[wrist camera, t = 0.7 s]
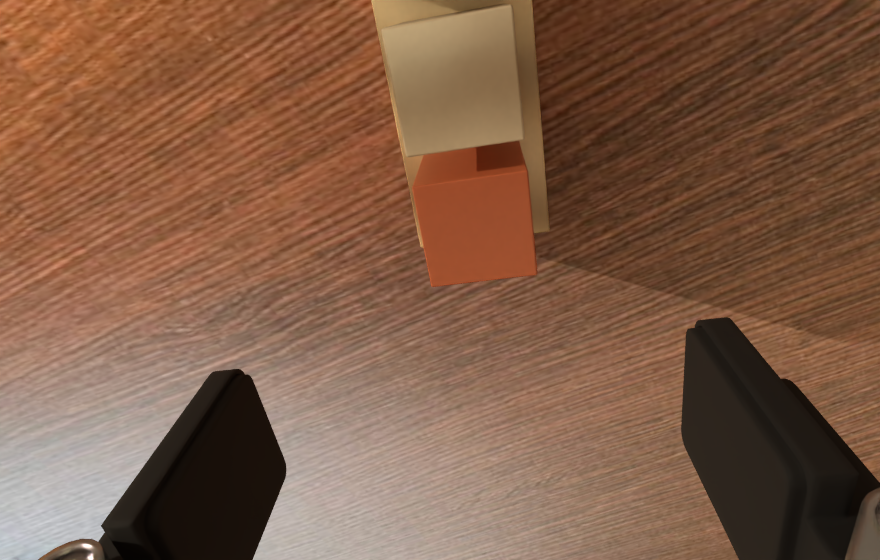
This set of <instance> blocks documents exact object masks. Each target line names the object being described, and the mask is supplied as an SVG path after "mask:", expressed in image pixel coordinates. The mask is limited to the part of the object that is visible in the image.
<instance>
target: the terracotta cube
mask: <svg viewBox="0 0 880 560" xmlns="http://www.w3.org/2000/svg"><path fill="white" fill-rule="evenodd" d="M412 191H413V196H414V201H415V206H416V211H417V216H418V221H419V226H420V231H421V236H422V241H423V246H424V251H425V256H426V262H427V267H428V272H429V277H430V282H431V286H432V287H436V286H445V285H453V284H462V283H470V282H479V281H488V280H496V279H505V278H513V277H522V276H530V275H537V263H536V252H535V241H534V230H533V219H532V208H531V197H530V186H529V176H528V169H527V166H526V163H525V159H524V156H523V152H522V149H521V145H520V142H519V141H514V142H507V143H501V144H494V145H487V146H481V147H474V148H468V149H461V150H454V151H448V152H441V153H434V154H428V155H423V158H422V161H421V164H420V166H419V169H418V172H417V175H416V178H415V181H414V183H413V186H412Z"/></svg>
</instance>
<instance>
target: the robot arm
mask: <svg viewBox="0 0 880 560" xmlns="http://www.w3.org/2000/svg"><path fill="white" fill-rule="evenodd" d="M681 432H682V439H683V443H684V446H685V448H686V450H687V452H688V455H689V457H690V459H691V461H692V463H693V465H694V467H695V469H696V471H697V473H698V475H699V477H700V479H701V481H702V484H703V486H704V488H705V490H706V492H707V494H708V496H709V498H710V500H711V502H712V504H713V506H714V508H715V511H716V513H717V515H718V517H719V519H720V521H721V523H722V525H723V527H724V529H725V531H726V533H727V535H728V537H729V540H730V542H731V544H732V546H733V548H734V550H735V552H736V554H737V556H738V558H739V560H880V483H879V481H878V480H877V479H876V478H875V477H874V476H873V474H872V473H871V472H870V471H869V470H868V469H867V467H866V466H865V465H864V464H863V463H862V462H861V460H860V459H859V458H858V457H857V456H856V455H855V453H854V452H853V451H852V450H851V449H850V448H849V446H848V445H847V444H846V443H845V442H844V441H843V439H842V438H841V437H840V436H839V435H838V434H837V432H836V431H835V430H834V429H833V428H832V427H831V425H830V424H829V423H828V422H827V421H826V420H825V418H824V417H823V416H822V415H821V414H820V413H819V411H818V410H817V409H816V408H815V407H814V406H813V404H812V403H811V402H810V401H809V400H808V399H807V397H806V396H805V395H804V394H803V393H802V392H801V390H800V389H799V388H798V387H797V386H796V385H795V384H794V383H793V382H792V381H790V380H788V379H780V377H779V376H778V375H777V374H776V373H775V371H774V370H773V369H772V368H771V367H770V365H769V364H768V363H767V362H766V361H765V359H764V358H763V357H762V356H761V355H760V353H759V352H758V351H757V350H756V349H755V347H754V346H753V345H752V344H751V343H750V341H749V340H748V339H747V338H746V337H745V335H744V334H743V333H742V332H741V331H740V329H739V328H738V327H737V326H736V325H735V323H734V322H733V321H732V320H731V319H730V318H727V317H725V318H716V319H706V320H698V321H697V322H696V324H695V328H690V329H688V330H687V332H686V346H685V366H684V386H683V406H682V425H681ZM285 476H286V463H285V460H284V457H283V455H282V452H281V450H280V447H279V445H278V442H277V440H276V437H275V435H274V432H273V430H272V427H271V425H270V422H269V420H268V417H267V415H266V412H265V410H264V407H263V405H262V402H261V400H260V397H259V395H258V392H257V390H256V387H255V384H254V382H253V380H252V378H251V376H249V375H245V374H244V372H243V371H242V370H240V369H233V370H223V371H215V372H212V373H211V374H210V375H209V377H208V378H207V379H206V381H205V382H204V384H203V385H202V386H201V388H200V389H199V391H198V392H197V393H196V395H195V396H194V397H193V399H192V400H191V402H190V403H189V404H188V406H187V407H186V409H185V410H184V411H183V413H182V414H181V415H180V417H179V418H178V420H177V421H176V422H175V424H174V425H173V427H172V428H171V429H170V431H169V432H168V433H167V435H166V436H165V438H164V439H163V440H162V442H161V443H160V445H159V446H158V447H157V449H156V450H155V451H154V453H153V454H152V456H151V457H150V458H149V460H148V461H147V463H146V464H145V465H144V467H143V468H142V470H141V471H140V472H139V474H138V475H137V476H136V478H135V479H134V481H133V482H132V483H131V485H130V486H129V488H128V489H127V490H126V492H125V493H124V494H123V496H122V497H121V499H120V500H119V501H118V503H117V504H116V506H115V507H114V508H113V510H112V511H111V512H110V514H109V515H108V517H107V518H106V519H105V521H104V522H103V524H102V525H101V527H102V528H103V530H104V531H105V533H104V534H103V536H102V537H101V539H100V540H99V542H97V541H95V540H93V539H79V540H75V541H71V542H68V543H66V544H64V545H61V546H59V547H57V548H55V549H53V550H52V551H50V552H49V553H47V554H45V555H44V556H42V557H41V558H40V559H38V560H252V559H253V557H254V554H255V552H256V550H257V547H258V545H259V542H260V540H261V537H262V535H263V532H264V530H265V527H266V525H267V522H268V520H269V517H270V515H271V512H272V510H273V507H274V505H275V502H276V500H277V497H278V495H279V492H280V490H281V487H282V485H283V482H284V480H285Z"/></svg>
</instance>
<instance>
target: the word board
mask: <svg viewBox="0 0 880 560" xmlns="http://www.w3.org/2000/svg"><path fill="white" fill-rule="evenodd" d="M371 1H372V6H373V11H374V16H375V21H376V26H377V31H378V36H379V41H380V46H381V51H382V56H383V61H384V66H385V71H386V76H387V81H388V86H389V91H390V96H391V101H392V106H393V111H394V116H395V121H396V126H397V131H398V136H399V141H400V146H401V151H402V156H403V161H404V166H405V171H406V176H407V181H408V186H409V191H410V196H411V201H412V206H413V211H414V216H415V221H416V226H417V231H418V236H419V241H420V246H421V247H424V246H423V241H422V236H421V231H420V226H419V221H418V216H417V211H416V206H415V201H414V196H413V191H412V186H413V183H414V181H415V178H416V175H417V172H418V169H419V166H420V164H421V161H422V158H423V155H428V154H434V153H441V152H448V151H454V150H461V149H468V148H474V147H481V146H487V145H494V144H501V143H507V142H514V141H519V142H520V145H521V149H522V152H523V156H524V159H525V163H526V166H527V169H528V176H529V186H530V197H531V208H532V219H533V230H534V233H540V232H548V231H550V227H549V214H548V201H547V188H546V175H545V162H544V149H543V136H542V123H541V110H540V97H539V84H538V71H537V58H536V45H535V32H534V19H533V6H532V0H371Z"/></svg>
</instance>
